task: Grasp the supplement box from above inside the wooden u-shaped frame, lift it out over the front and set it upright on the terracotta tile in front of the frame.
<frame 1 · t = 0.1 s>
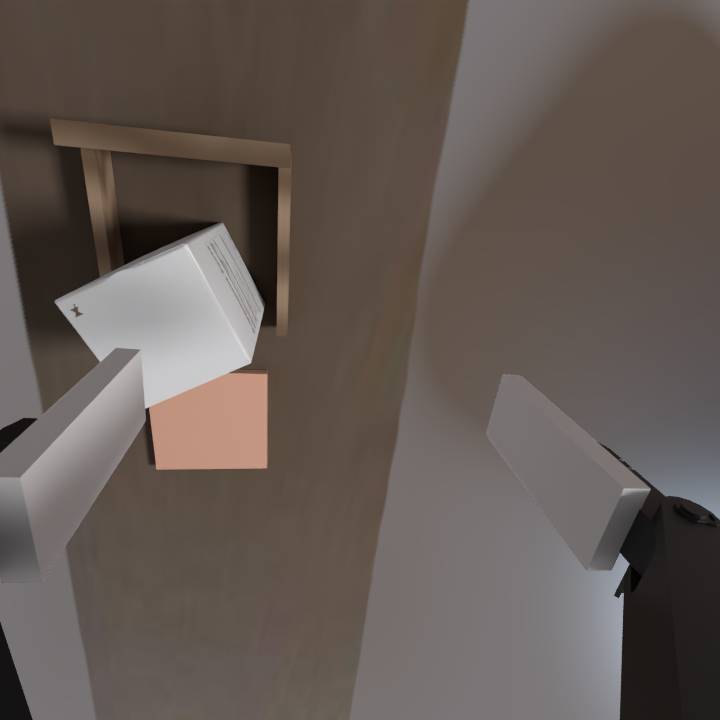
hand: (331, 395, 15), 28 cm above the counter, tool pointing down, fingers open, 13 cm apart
terracotta tile: (211, 418, 46), on the counter
supplement box: (205, 282, 40), on the counter
wooden u-shaped frame: (204, 283, 40), on the counter
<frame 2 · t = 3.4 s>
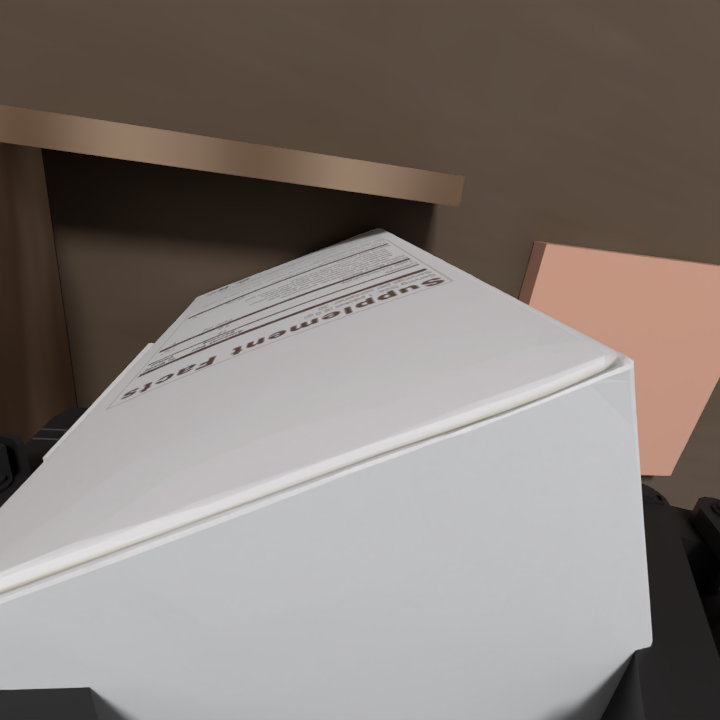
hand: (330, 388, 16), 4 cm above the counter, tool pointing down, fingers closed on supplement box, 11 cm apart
terracotta tile: (604, 369, 22), on the counter
supplement box: (324, 347, 20), on the counter, touching gripper
wooden u-shaped frame: (324, 348, 20), on the counter
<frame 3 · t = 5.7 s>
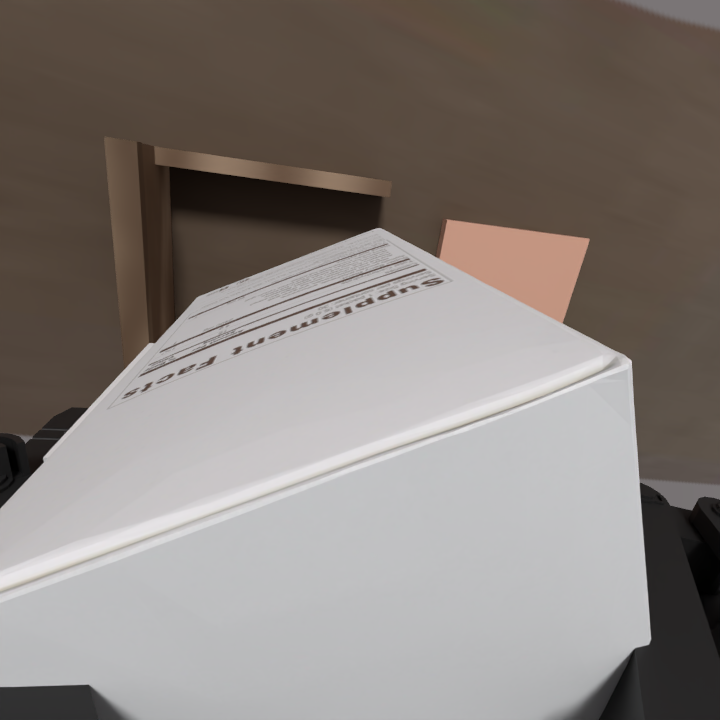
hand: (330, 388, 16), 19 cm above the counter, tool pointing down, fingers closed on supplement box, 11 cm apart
terracotta tile: (495, 301, 36), on the counter
supplement box: (324, 347, 20), point 14 cm above the counter, touching gripper
wooden u-shaped frame: (319, 283, 33), on the counter
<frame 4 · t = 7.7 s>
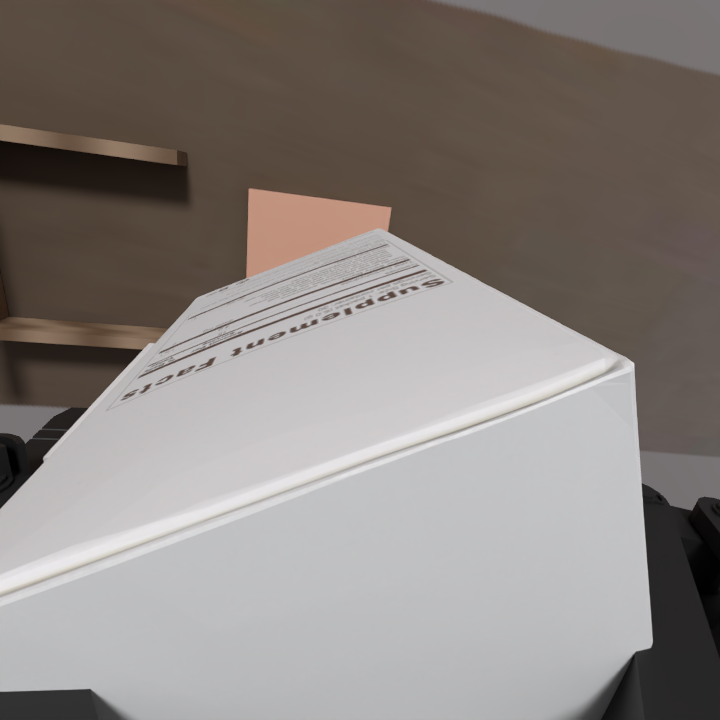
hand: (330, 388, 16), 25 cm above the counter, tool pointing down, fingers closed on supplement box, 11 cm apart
terracotta tile: (315, 267, 38), on the counter
supplement box: (324, 347, 20), point 20 cm above the counter, touching gripper
wooden u-shaped frame: (139, 249, 36), on the counter
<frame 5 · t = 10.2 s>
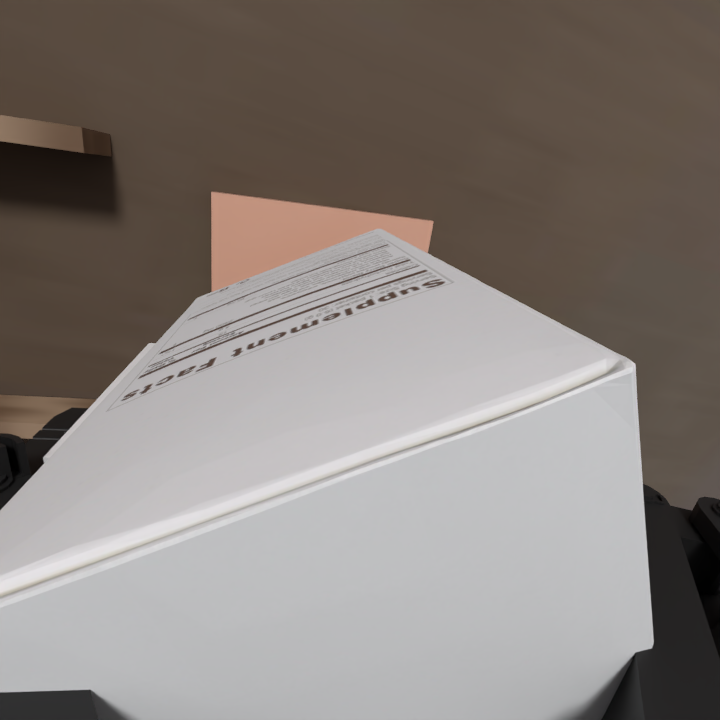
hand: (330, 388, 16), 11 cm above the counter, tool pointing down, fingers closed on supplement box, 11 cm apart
terracotta tile: (316, 309, 26), on the counter
supplement box: (324, 347, 20), point 6 cm above the counter, touching gripper
wooden u-shaped frame: (44, 285, 23), on the counter
when the fingers open (6 cm above the counter, at t = 12.3 s): supplement box stays where it is, resting on terracotta tile.
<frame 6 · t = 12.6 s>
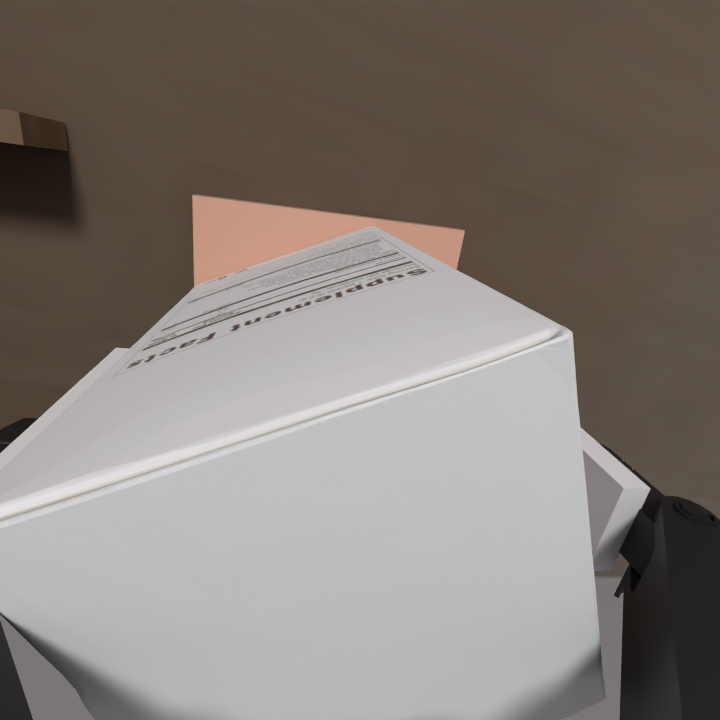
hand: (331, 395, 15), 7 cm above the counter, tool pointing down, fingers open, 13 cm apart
terracotta tile: (322, 334, 21), on the counter
supplement box: (317, 338, 21), point 1 cm above the counter, touching terracotta tile
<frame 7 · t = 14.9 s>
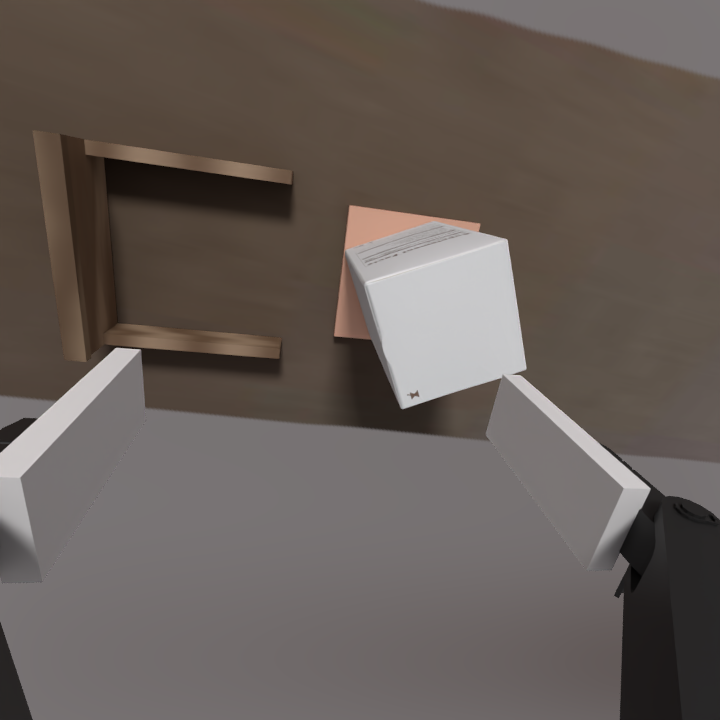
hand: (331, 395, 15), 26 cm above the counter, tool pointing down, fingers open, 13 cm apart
terracotta tile: (402, 279, 40), on the counter
supplement box: (401, 280, 39), point 1 cm above the counter, touching terracotta tile
wooden u-shaped frame: (242, 261, 38), on the counter
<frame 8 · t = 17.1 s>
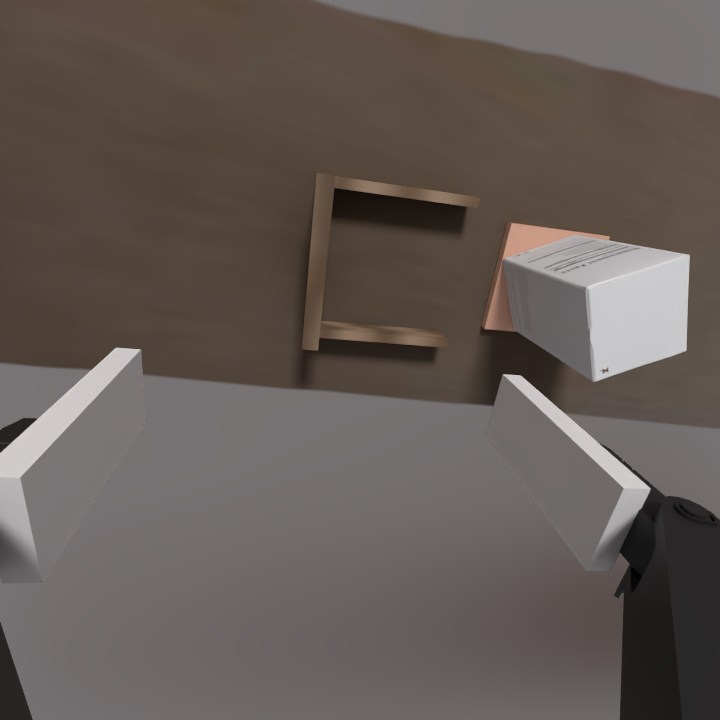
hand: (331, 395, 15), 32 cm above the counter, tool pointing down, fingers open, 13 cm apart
terracotta tile: (541, 281, 49), on the counter
supplement box: (542, 282, 48), point 1 cm above the counter, touching terracotta tile
wooden u-shaped frame: (418, 268, 46), on the counter
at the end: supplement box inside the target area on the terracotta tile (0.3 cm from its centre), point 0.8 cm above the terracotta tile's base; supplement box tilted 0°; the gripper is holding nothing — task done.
